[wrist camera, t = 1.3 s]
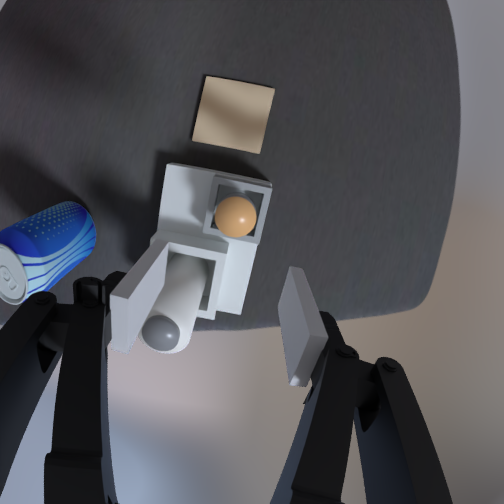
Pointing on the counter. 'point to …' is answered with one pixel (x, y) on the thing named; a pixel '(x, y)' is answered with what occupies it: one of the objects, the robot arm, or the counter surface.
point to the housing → (211, 230)
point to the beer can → (43, 249)
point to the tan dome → (235, 214)
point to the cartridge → (176, 305)
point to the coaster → (233, 114)
